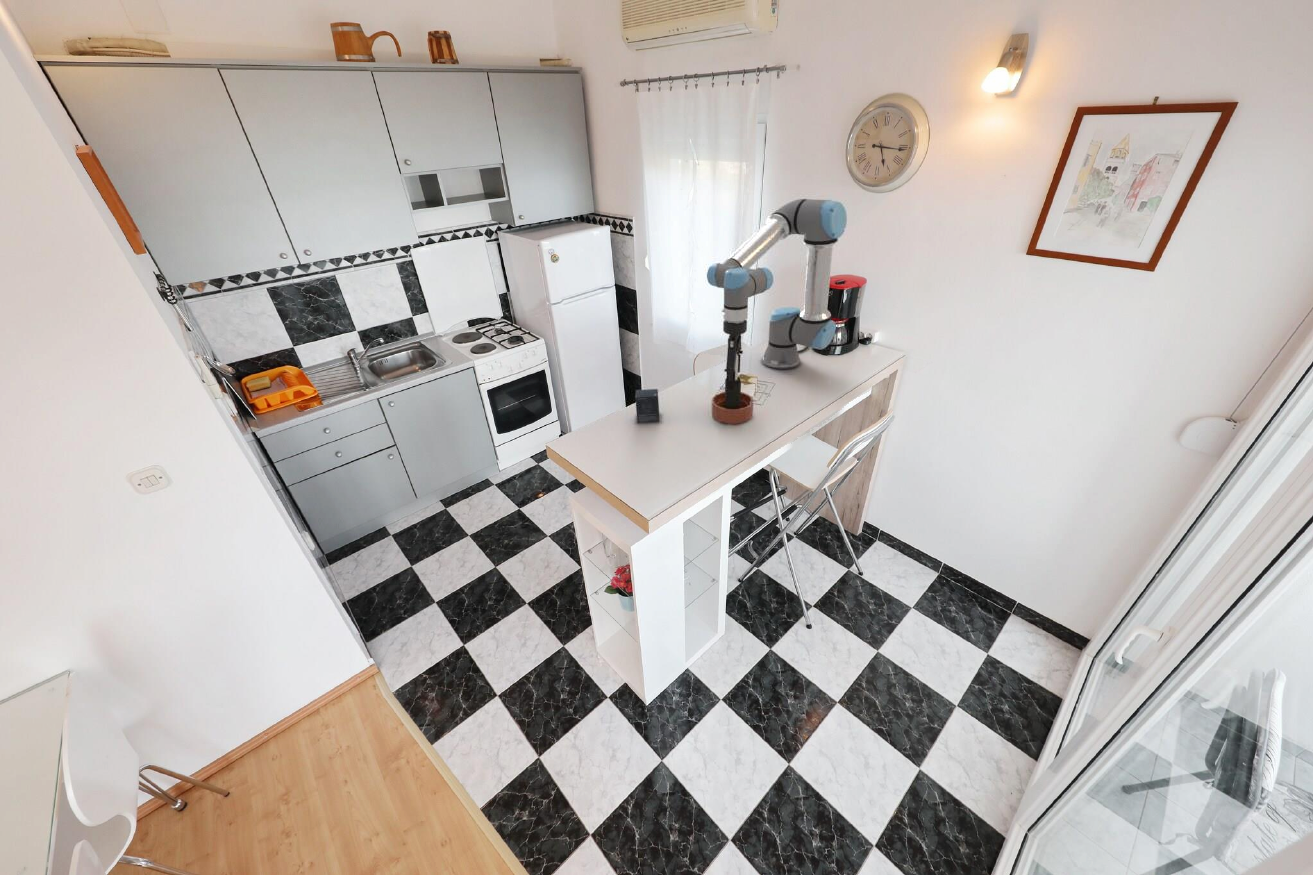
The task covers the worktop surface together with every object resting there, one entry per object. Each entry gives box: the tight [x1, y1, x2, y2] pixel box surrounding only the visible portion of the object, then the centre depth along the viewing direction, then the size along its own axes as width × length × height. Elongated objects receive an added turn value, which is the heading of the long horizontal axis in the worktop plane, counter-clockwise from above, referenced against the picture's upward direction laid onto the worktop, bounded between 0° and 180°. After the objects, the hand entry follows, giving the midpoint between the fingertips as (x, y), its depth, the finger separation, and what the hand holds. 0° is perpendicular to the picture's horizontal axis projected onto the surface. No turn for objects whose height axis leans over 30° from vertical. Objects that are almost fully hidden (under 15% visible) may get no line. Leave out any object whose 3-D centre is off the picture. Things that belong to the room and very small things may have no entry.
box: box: [634, 388, 660, 424], centre depth 176 cm, size 8×6×11 cm
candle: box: [724, 354, 742, 409], centre depth 171 cm, size 5×5×25 cm
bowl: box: [711, 391, 755, 425], centre depth 177 cm, size 14×14×6 cm
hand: (733, 380), depth 171 cm, fingers open, 13 cm apart
